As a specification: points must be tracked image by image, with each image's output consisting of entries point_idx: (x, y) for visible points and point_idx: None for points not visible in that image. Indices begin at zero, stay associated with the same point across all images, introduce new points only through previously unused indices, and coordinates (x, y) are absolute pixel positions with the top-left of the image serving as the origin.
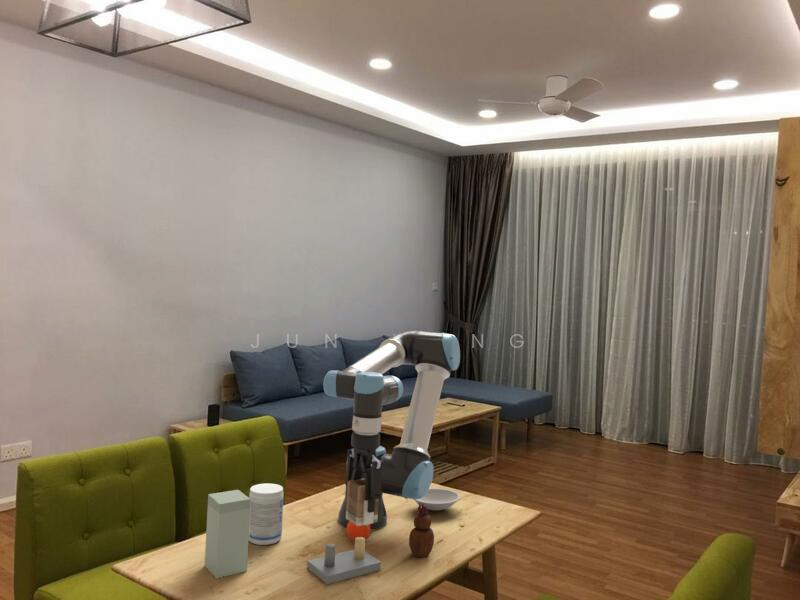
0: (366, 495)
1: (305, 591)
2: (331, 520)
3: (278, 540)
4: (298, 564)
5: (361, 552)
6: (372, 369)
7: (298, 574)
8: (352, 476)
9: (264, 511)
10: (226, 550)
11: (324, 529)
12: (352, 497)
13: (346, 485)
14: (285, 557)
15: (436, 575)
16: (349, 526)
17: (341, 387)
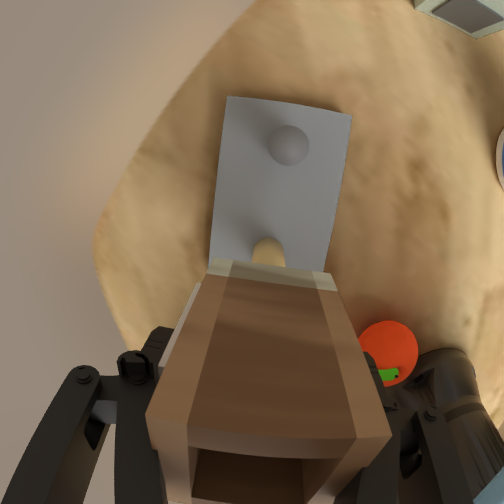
0: (151, 391)
1: (234, 36)
2: (476, 344)
3: (497, 171)
4: (380, 115)
5: (252, 256)
6: None
7: (330, 75)
8: (384, 487)
9: None
10: None
11: (467, 307)
12: (284, 345)
13: (426, 406)
14: (431, 121)
15: (126, 340)
16: (401, 335)
17: None
